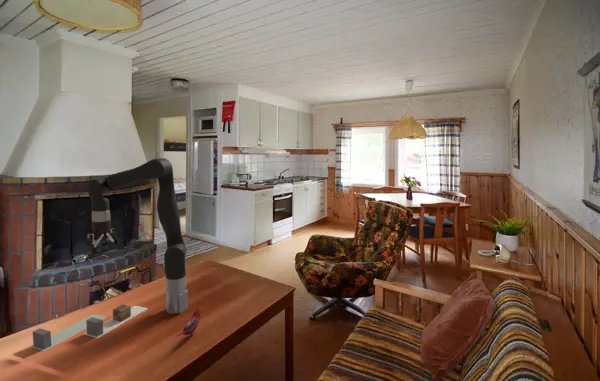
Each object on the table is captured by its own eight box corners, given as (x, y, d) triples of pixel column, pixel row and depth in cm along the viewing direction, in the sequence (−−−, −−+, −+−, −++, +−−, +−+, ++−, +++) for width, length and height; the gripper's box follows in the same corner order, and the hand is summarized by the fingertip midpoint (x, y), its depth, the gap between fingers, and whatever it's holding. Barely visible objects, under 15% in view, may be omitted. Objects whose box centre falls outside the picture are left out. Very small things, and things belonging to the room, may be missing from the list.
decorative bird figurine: (203, 327, 135) (203, 306, 134) (179, 351, 118) (179, 327, 117) (198, 326, 136) (197, 305, 135) (173, 350, 119) (172, 326, 117)
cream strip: (147, 310, 147) (147, 296, 147) (97, 340, 123) (97, 324, 122) (135, 307, 150) (134, 294, 149) (83, 336, 125) (82, 320, 124)
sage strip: (106, 319, 138) (106, 304, 138) (44, 353, 114) (42, 336, 113) (93, 315, 141) (93, 301, 140) (29, 349, 116) (28, 332, 115)
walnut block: (130, 316, 140) (130, 306, 139) (121, 321, 135) (121, 311, 134) (122, 314, 141) (122, 304, 141) (113, 319, 136) (112, 309, 136)
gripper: (93, 223, 138) (94, 257, 140) (120, 217, 151) (121, 248, 153) (81, 221, 140) (82, 255, 142) (108, 216, 153) (110, 246, 155)
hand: (102, 251), depth 147 cm, fingers open, 8 cm apart
